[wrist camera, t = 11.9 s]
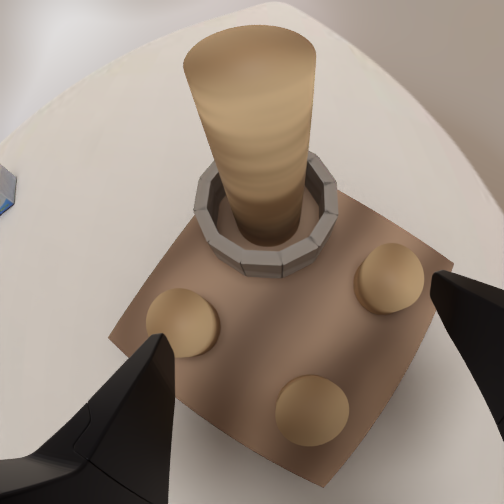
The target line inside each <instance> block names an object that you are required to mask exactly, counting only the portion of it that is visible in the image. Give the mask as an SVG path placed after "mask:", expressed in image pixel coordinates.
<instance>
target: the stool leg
mask: <svg viewBox="0 0 504 504" xmlns="http://www.w3.org/2000/svg"><path fill="white" fill-rule="evenodd" d="M315 67H316V51H315V49H314V47H313V45H312V44H311V43H310V42H309V40H307V39H306V38H305V37H303V36H302V35H300V34H298V33H296V32H294V31H291V30H288V29H285V28H281V27H276V26H268V25H248V26H240V27H234V28H230V29H226V30H223V31H220V32H217V33H215V34H212V35H210V36H208V37H206V38H205V39H203V40H201V41H200V42H198V43H197V44H196V45H195V46H194V47H193V48H192V49H191V50H190V51H189V52H188V54H187V55H186V57H185V59H184V63H183V68H184V72H185V75H186V78H187V81H188V84H189V87H190V90H191V93H192V96H193V99H194V102H195V105H196V108H197V111H198V113H199V116H200V119H201V122H202V125H203V128H204V131H205V134H206V137H207V140H208V143H209V146H210V149H211V151H212V154H213V157H214V160H215V163H216V166H217V169H218V172H219V175H220V178H221V181H222V183H223V186H224V189H225V192H226V195H227V198H228V201H229V204H230V207H231V209H232V212H233V215H234V218H235V221H236V224H237V227H238V229H239V231H240V233H241V234H242V236H243V237H244V238H245V239H246V240H248V241H249V242H251V243H253V244H255V245H258V246H262V247H273V246H277V245H280V244H283V243H285V242H286V241H288V240H289V239H290V238H291V237H292V236H293V235H294V234H295V233H296V231H297V229H298V227H299V223H300V217H301V209H302V201H303V193H304V185H305V176H306V167H307V158H308V148H309V138H310V128H311V117H312V106H313V94H314V81H315Z"/></svg>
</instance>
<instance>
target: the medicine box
mask: <svg viewBox="0 0 504 504" xmlns="http://www.w3.org/2000/svg"><path fill="white" fill-rule="evenodd" d="M15 190H16V177H15V176H14V175H13V174H12V173H11V172H9V171H8V170H7V169H6V168H5V167H3V166H2V165H1V164H0V214H2V213H3V212H4V211H5V210H7V209H8V208H9V207H10V206H12V205H13V204H14V200H15Z"/></svg>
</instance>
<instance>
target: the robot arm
mask: <svg viewBox="0 0 504 504" xmlns="http://www.w3.org/2000/svg"><path fill="white" fill-rule="evenodd" d="M430 298H431V300H432V302H433V304H434V306H435V308H436V310H437V312H438V314H439V316H440V318H441V320H442V322H443V324H444V326H445V328H446V330H447V332H448V334H449V336H450V338H451V339H452V341H453V342H454V344H455V346H456V348H457V349H458V351H459V353H460V354H461V356H462V358H463V360H464V361H465V363H466V365H467V367H468V369H469V370H470V372H471V374H472V376H473V378H474V380H475V382H476V383H477V385H478V387H479V389H480V391H481V393H482V395H483V397H484V399H485V401H486V403H487V405H488V407H489V409H490V412H491V414H492V416H493V418H494V420H495V422H496V425H497V427H498V429H499V432H500V434H501V436H502V439H503V441H504V290H502V289H499V288H496V287H494V286H491V285H488V284H485V283H482V282H479V281H476V280H473V279H470V278H467V277H464V276H461V275H458V274H455V273H452V272H449V271H446V270H440V271H436V272H434V273H433V275H432V279H431V287H430ZM174 406H175V355H174V351H173V349H172V347H171V345H170V343H169V341H168V339H167V337H166V335H165V334H164V333H158V334H152V335H151V336H150V337H149V338H148V339H147V340H146V341H145V342H144V343H143V344H142V345H141V346H140V347H139V348H138V349H137V350H136V351H135V352H134V353H133V354H132V355H131V356H130V357H129V359H128V360H127V361H126V362H125V363H124V364H123V365H122V366H121V367H120V368H119V369H118V370H117V371H116V372H115V373H114V374H113V375H112V376H111V377H110V378H109V380H108V381H107V382H106V383H105V384H104V385H103V386H102V387H101V388H100V389H99V390H98V391H97V392H96V393H95V394H94V395H93V396H92V398H91V399H90V400H89V401H88V403H86V404H85V405H84V406H83V407H82V408H81V409H80V410H79V411H78V412H77V413H76V414H75V415H74V416H73V417H72V418H71V419H70V420H69V421H68V422H67V423H66V424H65V425H64V426H63V427H62V428H61V429H60V430H59V431H58V432H56V433H55V434H54V435H53V436H52V437H51V438H50V439H49V440H47V441H46V442H45V443H44V444H43V445H42V446H41V447H40V448H39V449H37V450H36V451H35V452H34V453H32V454H30V455H28V456H25V457H22V458H15V459H5V460H0V504H168V491H169V471H170V455H171V441H172V428H173V417H174Z"/></svg>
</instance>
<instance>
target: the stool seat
mask: <svg viewBox="0 0 504 504" xmlns="http://www.w3.org/2000/svg"><path fill="white" fill-rule="evenodd" d="M193 210H194V214H195V215H194V216H193V218H192V219H191V220H190V222H189V223H188V224H187V226H186V227H185V228H184V230H183V231H182V232H181V234H180V235H179V236H178V238H177V239H176V240H175V242H174V243H173V244H172V246H171V247H170V248H169V250H168V251H167V252H166V254H165V255H164V257H163V258H162V259H161V261H160V262H159V263H158V265H157V266H156V268H155V269H154V270H153V272H152V273H151V275H150V276H149V277H148V279H147V280H146V282H145V283H144V285H143V286H142V287H141V289H140V290H139V292H138V293H137V295H136V296H135V298H134V299H133V301H132V302H131V304H130V305H129V306H128V308H127V309H126V311H125V312H124V314H123V315H122V317H121V318H120V320H119V321H118V323H117V325H116V326H115V328H114V329H113V331H112V332H111V334H110V335H109V337H108V338H109V339H110V340H111V341H112V342H113V343H114V344H115V345H116V346H117V347H118V348H119V349H120V350H121V351H122V352H123V353H124V354H125V355H126V356H127V357H130V356H131V355H132V354H133V353H134V352H135V351H136V350H137V349H138V348H139V347H140V346H141V345H142V344H143V343H144V342H145V341H146V340H147V339H148V338H149V337H150V336H151V335H152V334H158V333H164V334H165V335H166V337H167V339H168V341H169V343H170V345H171V347H172V349H173V351H174V355H175V397H176V398H177V399H178V400H180V401H181V402H182V403H183V404H185V405H186V406H187V407H189V408H190V409H191V410H193V411H194V412H196V413H197V414H198V415H200V416H201V417H202V418H204V419H205V420H207V421H208V422H210V423H211V424H212V425H214V426H215V427H217V428H218V429H220V430H221V431H223V432H224V433H226V434H227V435H229V436H230V437H232V438H233V439H235V440H237V441H238V442H240V443H241V444H243V445H244V446H246V447H248V448H249V449H251V450H253V451H254V452H256V453H258V454H259V455H261V456H263V457H265V458H266V459H268V460H270V461H272V462H273V463H275V464H277V465H279V466H281V467H283V468H284V469H286V470H288V471H290V472H292V473H294V474H296V475H298V476H300V477H302V478H304V479H306V480H308V481H310V482H312V483H314V484H317V485H319V486H321V487H323V488H324V487H325V486H326V484H327V483H328V482H329V481H330V480H331V479H332V478H333V476H334V475H335V474H336V473H337V472H338V470H339V469H340V468H341V467H342V466H343V464H344V463H345V462H346V461H347V459H348V458H349V457H350V456H351V454H352V453H353V452H354V450H355V449H356V448H357V446H358V445H359V444H360V442H361V441H362V440H363V438H364V437H365V435H366V434H367V433H368V431H369V430H370V428H371V427H372V426H373V424H374V423H375V421H376V420H377V418H378V417H379V415H380V414H381V412H382V411H383V409H384V407H385V406H386V404H387V403H388V401H389V400H390V398H391V396H392V395H393V393H394V391H395V390H396V388H397V386H398V385H399V383H400V381H401V379H402V378H403V376H404V374H405V372H406V371H407V369H408V367H409V365H410V363H411V361H412V360H413V358H414V356H415V354H416V352H417V350H418V348H419V346H420V344H421V342H422V340H423V338H424V336H425V334H426V332H427V329H428V327H429V325H430V323H431V321H432V318H433V316H434V314H435V312H436V308H435V306H434V304H433V302H432V300H431V298H430V287H431V279H432V275H433V273H434V272H436V271H440V270H446V271H449V272H451V271H452V268H453V265H454V263H453V262H451V261H450V260H448V259H447V258H446V257H444V256H443V255H441V254H440V253H438V252H437V251H436V250H434V249H433V248H431V247H430V246H428V245H427V244H425V243H424V242H422V241H421V240H419V239H418V238H416V237H415V236H413V235H412V234H410V233H409V232H407V231H406V230H404V229H402V228H401V227H399V226H398V225H396V224H395V223H393V222H391V221H390V220H388V219H386V218H385V217H383V216H382V215H380V214H378V213H377V212H375V211H373V210H372V209H370V208H368V207H367V206H365V205H363V204H362V203H360V202H358V201H356V200H355V199H353V198H351V197H349V196H348V195H346V194H344V193H342V192H341V191H339V190H337V182H336V180H335V179H334V177H333V176H332V175H331V173H330V172H329V170H328V169H327V168H326V166H325V165H324V164H323V162H322V161H321V160H320V158H319V157H318V156H316V154H314V153H312V152H310V151H308V158H307V167H306V176H305V185H304V193H303V201H302V209H301V217H300V223H299V227H298V229H297V231H296V233H295V234H294V235H293V236H292V237H291V238H290V239H289V240H288V241H286V242H285V243H283V244H280V245H277V246H273V247H262V246H258V245H255V244H253V243H251V242H249V241H248V240H246V239H245V238H244V237H243V236H242V234H241V233H240V231H239V229H238V227H237V224H236V221H235V218H234V215H233V212H232V209H231V207H230V204H229V201H228V198H227V195H226V192H225V189H224V186H223V183H222V181H221V178H220V175H219V172H218V169H217V166H216V163H215V160H214V161H213V163H212V164H211V165H210V166H209V167H208V168H207V170H206V171H205V172H204V173H203V174H202V176H201V177H200V179H199V181H198V187H197V192H196V198H195V204H194V209H193Z"/></svg>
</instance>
